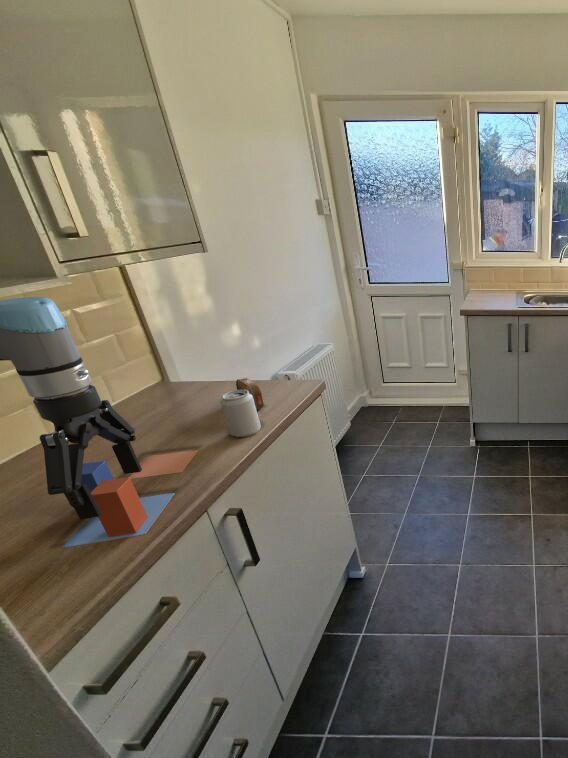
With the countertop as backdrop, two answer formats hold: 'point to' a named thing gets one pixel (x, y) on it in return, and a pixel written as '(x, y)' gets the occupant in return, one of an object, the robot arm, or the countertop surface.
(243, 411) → the can
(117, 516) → the terracotta block
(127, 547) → the countertop surface
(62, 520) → the countertop surface
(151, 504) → the blue mat
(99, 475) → the blue block
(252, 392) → the brown curved piece
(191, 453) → the terracotta mat
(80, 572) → the countertop surface
